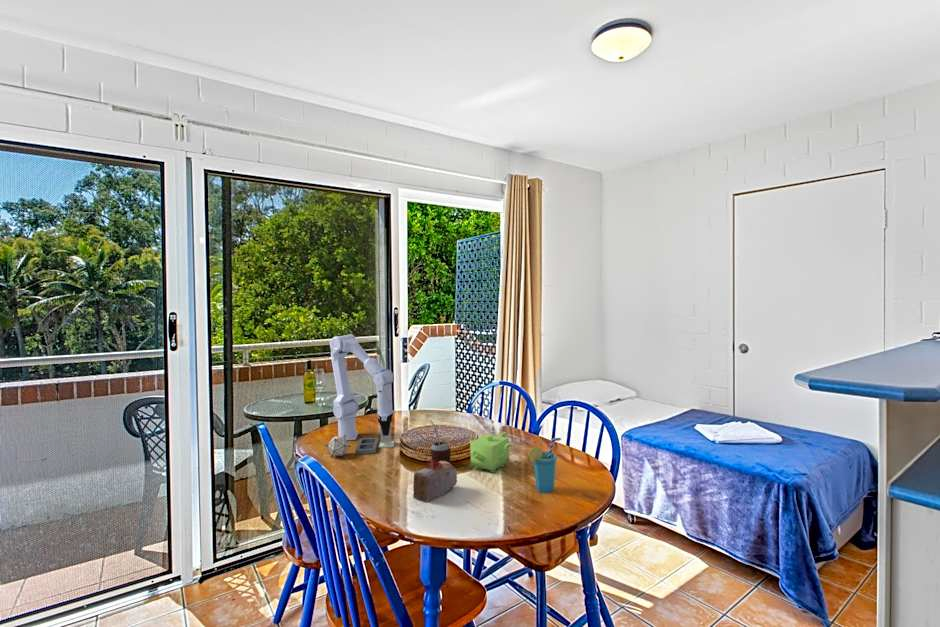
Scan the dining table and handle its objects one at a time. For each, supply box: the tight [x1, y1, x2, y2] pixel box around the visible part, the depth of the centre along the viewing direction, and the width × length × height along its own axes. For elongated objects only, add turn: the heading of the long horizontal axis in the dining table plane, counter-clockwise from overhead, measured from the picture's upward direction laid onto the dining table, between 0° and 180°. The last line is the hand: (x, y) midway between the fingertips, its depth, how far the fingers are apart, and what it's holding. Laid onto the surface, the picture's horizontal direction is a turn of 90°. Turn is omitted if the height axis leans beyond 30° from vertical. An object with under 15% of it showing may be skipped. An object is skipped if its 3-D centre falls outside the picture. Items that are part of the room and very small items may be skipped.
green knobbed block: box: [468, 431, 514, 473], centre depth 172 cm, size 15×14×11 cm
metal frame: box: [354, 436, 380, 456], centre depth 197 cm, size 15×8×2 cm, turn 6°
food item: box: [412, 460, 458, 503], centre depth 152 cm, size 14×8×10 cm, turn 144°
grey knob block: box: [380, 424, 392, 443], centre depth 200 cm, size 4×4×7 cm
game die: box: [324, 434, 352, 458], centre depth 188 cm, size 9×8×10 cm
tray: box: [378, 440, 396, 449], centre depth 200 cm, size 6×6×1 cm
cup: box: [526, 437, 562, 494], centre depth 152 cm, size 14×8×15 cm, turn 132°
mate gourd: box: [430, 420, 452, 463], centre depth 175 cm, size 8×8×15 cm
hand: (386, 433), depth 200 cm, fingers closed on grey knob block, 4 cm apart
